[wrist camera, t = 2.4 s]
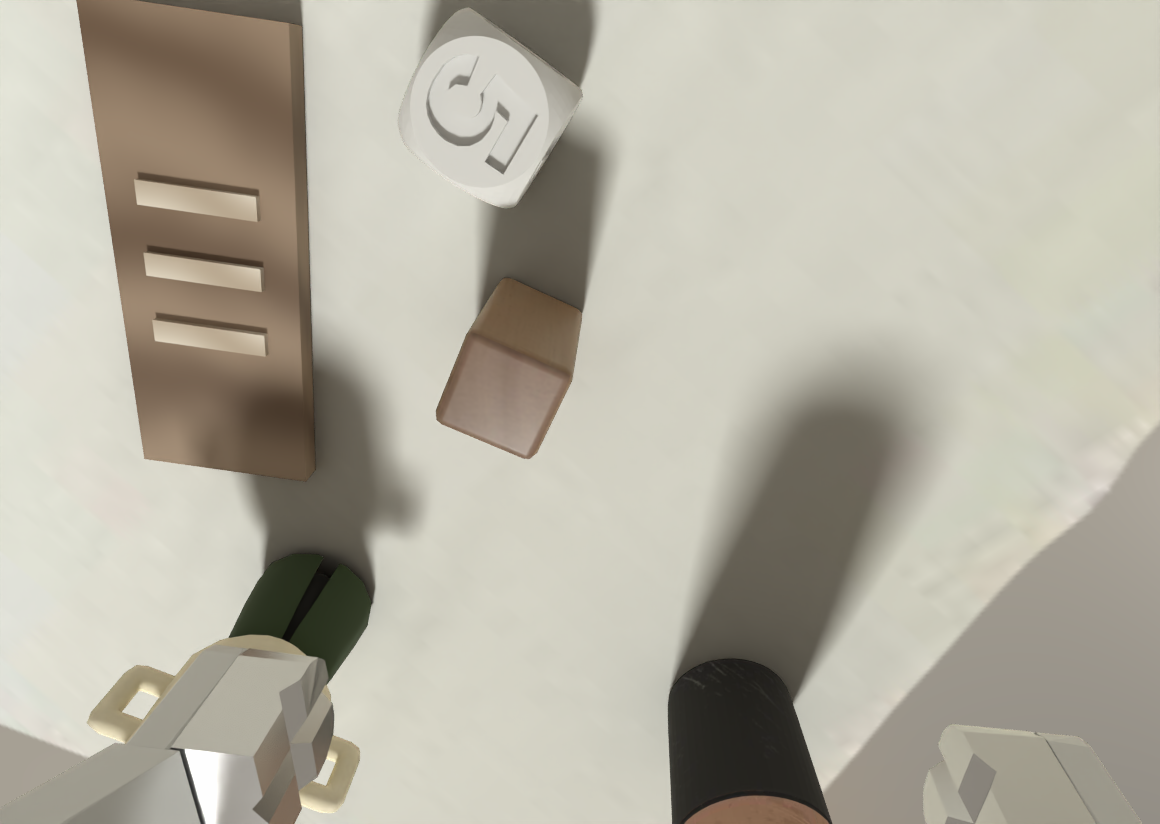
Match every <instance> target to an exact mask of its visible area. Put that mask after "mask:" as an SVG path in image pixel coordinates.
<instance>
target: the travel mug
mask: <svg viewBox="0 0 1160 824" xmlns="http://www.w3.org/2000/svg"><path fill="white" fill-rule="evenodd" d="M668 734H669V757H670V781H671V805H672V824H832V821H831V819H830V815H829V812H828V809H827V806H826V803H825V800H824V797H823V794H822V791H821V788H820V785H819V782H818V779H817V776H816V772H815V769H814V766H813V763H812V760H811V757H810V754H809V751H808V748H807V745H806V742H805V739H804V736H803V733H802V730H801V727H800V724H799V721H798V718H797V715H796V712H795V709H794V706H793V703H792V700H791V697H790V695H789V692H788V690H787V688H786V686H785V685H784V683H783V682H782V680H781V679H780V678H779V677H778V676H777V675H776V674H775V673H774V672H772V671H771V670H769V669H768V668H766V667H764V666H762V665H760V664H757V663H754V662H751V661H746V660H739V659H723V660H716V661H711V662H708V663H704V664H702V665H699V666H697V667H695V668H693V669H692V670H690V671H688V672H687V673H686V674H684V675H683V676H682V677H681V678H680V679H679V680H678V681H677V683H676V684H675V685H674V687H673V689H672V691H671V694H670V696H669V701H668Z"/></svg>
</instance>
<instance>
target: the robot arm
mask: <svg viewBox="0 0 1160 824" xmlns="http://www.w3.org/2000/svg"><path fill="white" fill-rule="evenodd" d="M328 679H329V677H328V672H327V667H326V662H325V660H323V659H321V658H318V657H310V656H303V655H295V654H288V653H281V652H273V651H266V650H258V649H251V648H249V649H246V648H238V647H231V646H223V645H216V644H214V645H212V646H211V647H209V648H207V649H205V650H204V651H202V652H201V653H200V654H199V656H198V657H197V658H196V659H195V661H194V662H193V663H192V664H191V665H190V667H189V668H188V669H187V670H186V672H185V673H184V674H183V675H182V676H181V678H180V679H179V680H178V681H177V683H176V684H175V685H174V686H173V687H172V689H171V690H170V691H169V692H168V694H167V695H166V696H165V697H164V698H163V700H162V701H161V702H160V703H159V705H158V706H157V707H156V708H155V709H154V711H153V712H152V713H151V714H150V716H149V717H148V718H147V719H146V720H145V722H144V723H143V724H142V725H141V727H140V728H139V729H138V730H137V731H136V733H135V734H134V735H133V736H132V738H131V739H130V740H129V741H128V742H127V744H120V743H114V744H112V745H111V746H109V747H107V748H105V749H103V750H102V751H100V752H98V753H96V754H95V755H93V756H91V757H89V758H88V759H86V760H84V761H82V762H80V763H79V764H77V765H75V766H73V767H72V768H70V769H68V770H66V771H65V772H63V773H61V774H59V775H57V776H56V777H54V778H52V779H50V780H49V781H47V782H45V783H43V784H42V785H40V786H38V787H36V788H34V789H33V790H31V791H29V792H27V793H26V794H24V795H22V796H20V797H19V798H17V799H15V800H14V801H11V802H10V803H8V804H6V805H4V806H3V807H1V808H0V824H294V823H295V821H296V819H297V817H298V815H299V813H300V811H301V809H302V807H301V802H300V796H299V790H300V789H302V788H303V787H305V786H306V785H307V784H309V783H310V782H311V781H313V780H314V779H315V778H317V777H318V775H319V773H320V770H321V768H322V766H323V764H324V762H325V760H326V758H327V755H328V751H329V747H330V744H331V740H332V736H333V729H334V711H333V703H332V702H331V701H330V700H329V699H328V698H327V697H326V696H325V695H324V694H323V693H322V690H323V688H324V686H325V685H326V683H327V681H328ZM938 746H939V748H940V751H941V753H942V756H943V758H944V760H943V761H941V762H940V763H938V764H937V765H935V766H934V767H932V768H930V769H929V771H928V775H927V778H926V781H925V784H924V788H923V812H924V817H925V822H926V824H1142V822H1141V821H1140V819H1139V818H1138V816H1137V815H1136V814H1135V812H1134V810H1133V809H1132V807H1131V806H1130V804H1129V803H1128V801H1127V800H1126V798H1125V797H1124V796H1123V794H1122V792H1121V791H1120V790H1119V788H1118V787H1117V785H1116V784H1115V782H1114V781H1113V779H1112V778H1111V776H1110V775H1109V773H1108V772H1107V770H1106V769H1105V767H1104V766H1103V764H1102V763H1101V761H1100V760H1099V758H1098V757H1097V755H1096V754H1095V752H1094V751H1093V750H1092V748H1091V747H1090V745H1089V744H1088V743H1086V742H1085V741H1084V740H1082V739H1081V738H1080V737H1077V736H1067V735H1057V734H1047V733H1037V732H1036V733H1031V732H1029V731H1019V730H1008V729H997V728H987V727H976V726H966V725H955V724H951V725H949V726H948V727H947V728H946V729H945V730H944V731H943V733H942V736H941V738H940V741H939V743H938Z"/></svg>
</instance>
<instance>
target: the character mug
mask: <svg viewBox="0 0 1160 824" xmlns="http://www.w3.org/2000/svg"><path fill="white" fill-rule="evenodd" d="M323 558H324V557H322V556H320V555H318V554H292V555H290V556H287V557H285V558H282V559H280V560H278V561H275V562H273V563H271V565H270V566H269V567H268V569H267V570H266V571H265V573H264V574H263V575H262V577H261V578H260V579H259V581H258V582H257V584H256V585H255V587H254V589H253V591H252V592H251V594H250V596H249V598H248V600H247V601H246V603H245V605H244V607H243V609H242V611H241V613H240V615H239V617H238V619H237V622H236V624H235V626H234V628H233V630H232V632H231V634H230V636H229V638H226V639H223V640H219V641H218V642H216V643H214V644H216V645H223V646H231V647H238V648H246V649H249V648H251V649H258V650H266V651H273V652H281V653H288V654H295V655H303V656H310V657H318V658H321V659H323V660H325V662H326V667H327V672H328V677H329V679H328V681H327V683H326V685H325V686H324V688H323V690H322V693H323V694H324V695H325V696H326V697H327V698H328V699H329V700H330V701H331V694H330V692H329V690H328V687H327V684H328V683H329V681H330V680H331V679H332V677H333V676H334V674H335V673H336V671H337V670H338V669H339V667H340V666H341V664H342V663H343V662H344V660H345V659H346V657H347V656H348V655H349V653H350V652H351V650H352V649H353V648H354V646H355V645H356V643H357V641H358V640H359V638H360V637H361V635H362V633H363V632H364V630H365V629H366V627H367V625H368V620H369V614H370V609H371V604H372V603H371V601H370V598H369V596H368V593H367V591H366V588H365V586H364V583H363V582H362V581H361V580H360V579H359V578H358V577H357V576H356V575H355V574H354V573H353V572H352V571H351V570H350V569H349V568H348V567H347V566H345V565H342V564H339V565H338V567H337V569H336V570H335V572H334V573H333V575H332V576H331V578H328V577H327V576H326V575H324V574H319V573H315V572H316V571H317V569H318V567H319V565H320V563H321V562H322V560H323ZM214 644H212V645H214ZM212 645H210V646H208V647H206V648H204V649H202V650H200V651H199V652H197V653H195V654H193V655H192V656H191V657H190V659H189V660H188V661H187V662H186V664H185V665H184V666H183V667H182V669H181V670H180V671H179V672H178V674H177V675H176V676H173V675H170V674H167V673H165V672H162V671H159V670H157V669H154V668H151V667H149V666H141V665H136V666H134V667H133V668H131V669H130V670H128V671H127V672H126V673H124V674H123V675H122V677H121V678H120V679H119V680H118V681H117V682H116V684H115V685H114V686H113V687H112V688H111V689H110V691H109V692H108V693H107V694H106V695H105V697H104V698H103V699H102V700H101V701H100V702H99V704H98V705H97V706H96V707H95V708H94V709H93V711H92V712H91V714H90V716H89V719H88V721H87V724H88V725H89V726H90V727H91V728H92V729H94V730H95V731H96V732H97V733H98V734H101V735H104V736H107V737H110V738H112V739H115V740H118V741H121V742H124V743H125V744H127V742H128V741H129V740H130V739H131V738H132V736H133V735H134V734H135V733H136V731H137V730H138V729H139V728H140V727H141V725H142V724H143V723H144V722H145V720H146V719H147V718H148V717H149V716H150V714H151V713H152V712H153V711H154V709H155V708H156V707H157V706H158V705H159V703H160V702H161V701H162V700H163V698H164V697H165V696H166V695H167V694H168V692H169V691H170V690H171V689H172V687H173V686H174V685H175V684H176V683H177V681H178V680H179V679H180V678H181V676H182V675H183V674H184V673H185V672H186V670H187V669H188V668H189V667H190V665H191V664H192V663H193V662H194V661H195V659H196V658H197V657H198V656H199V654H200V653H201V652H202V651H204V650H205V649H207V648H209V647H211V646H212ZM138 691H143V692H146V693H148V694H151V695H154V696H157V697H159V698H158V700H157V701H156V703H155V704H154V705H153V707H152V708H151V709H150V711H149V712H148V714H147V715H146V716H145V718H144V719H143V720H142V719H139V718H136V717H134V716H131V715H128V714H125V713H122V711H123V710H124V708H125V707H126V706H127V705H128V703H129V702H130V701H131V700H132V698H133V697H134V696H135V695H136V693H137V692H138ZM326 759H328V760H331V761H334V762H335V763H336V764H335V766H334V768H333V771H332V773H331V775H330V778H329V780H328V783H327V785H326V786H324V785H322V784H319V783H316V782H313V781H311V782H310V783H309V784H307V785H306V786H305V787H303V788H302V789H300V790H299V796H300V802H301V806H304V807H307V808H309V809H312V810H315V811H318V812H321V813H334V812H336V811H337V810H338V809H339V808H340V807H341V805H342V804H343V803H344V800H345V798H346V795H347V792H348V790H349V787H350V785H351V782H352V779H353V777H354V774H355V772H356V769H357V767H358V764H359V761H360V750H359V748H358V747H357V746H356V745H355V744H353V743H352V742H350V741H347V740H344V739H342V738H339V737H336V736H334V735H333V736H332V740H331V744H330V747H329V751H328V755H327V758H326Z"/></svg>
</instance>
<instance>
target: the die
mask: <svg viewBox="0 0 1160 824" xmlns="http://www.w3.org/2000/svg"><path fill="white" fill-rule="evenodd" d="M582 98H583V94H582V90H581V89H580V88H579V87H578V86H577V85H575V84H574V83H573V82H572V81H570V80H569V79H568V78H567V77H565V76H564V75H563V74H561V73H560V72H559V71H557V70H556V69H555V68H553V67H552V66H551V65H549V64H548V63H547V62H545V61H544V60H543V59H541V58H540V57H539V56H537V55H536V54H535V53H533V52H532V51H531V50H529V49H528V48H527V47H525V46H524V45H522V44H521V43H520V42H518V41H517V40H516V39H514V38H513V37H511V36H510V35H509V34H507V33H506V32H504V31H503V30H502V29H500V28H499V27H497V26H496V25H495V24H493V23H492V22H490V21H489V20H488V19H486V18H485V17H483V16H482V15H480V14H479V13H477V12H476V11H474V10H473V9H471V8H469V7H468V8H464V9H460V10H458V11H457V12H456V13H454V14H453V15H452V16H451V17H450V18H449V19H448V20H447V21H446V23H445V24H444V25H443V26H442V28H441V29H440V30H439V32H438V33H437V34H436V36H435V37H434V39H433V40H432V42H431V43H430V45H429V47H428V48H427V50H426V52H425V53H424V55H423V57H422V59H421V60H420V62H419V64H418V66H417V68H416V70H415V72H414V74H413V76H412V78H411V80H410V83H409V85H408V87H407V90H406V92H405V95H404V98H403V101H402V104H401V107H400V111H399V116H398V127H399V130H400V134H401V137H402V141H403V143H404V144H405V145H406V147H407V148H408V149H409V150H410V151H411V152H412V153H413V154H414V155H415V156H416V157H417V158H418V159H419V160H420V161H422V162H423V163H424V164H425V165H427V166H428V167H429V168H430V169H432V170H433V171H434V172H436V173H437V174H439V175H440V176H441V177H443V178H444V179H446V180H447V181H449V182H450V183H452V184H454V185H455V186H457V187H458V188H460V189H462V190H463V191H465V192H467V193H469V194H471V195H472V196H474V197H476V198H478V199H480V200H482V201H484V202H487V203H489V204H491V205H494V206H497V207H500V208H513V207H515V206H516V205H517V204H518V203H519V201H520V200H521V198H522V197H523V195H524V194H525V192H526V191H527V189H528V188H529V186H530V185H531V183H532V182H533V180H534V179H535V177H536V175H537V174H538V172H539V171H540V169H541V168H542V166H543V164H544V163H545V161H546V160H547V158H548V156H549V155H550V153H551V151H552V150H553V148H554V147H555V145H556V143H557V142H558V140H559V138H560V137H561V135H562V133H563V132H564V130H565V128H566V127H567V125H568V123H569V121H570V120H571V118H572V116H573V114H574V113H575V111H576V109H577V107H578V106H579V104H580V102H581V100H582Z"/></svg>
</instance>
